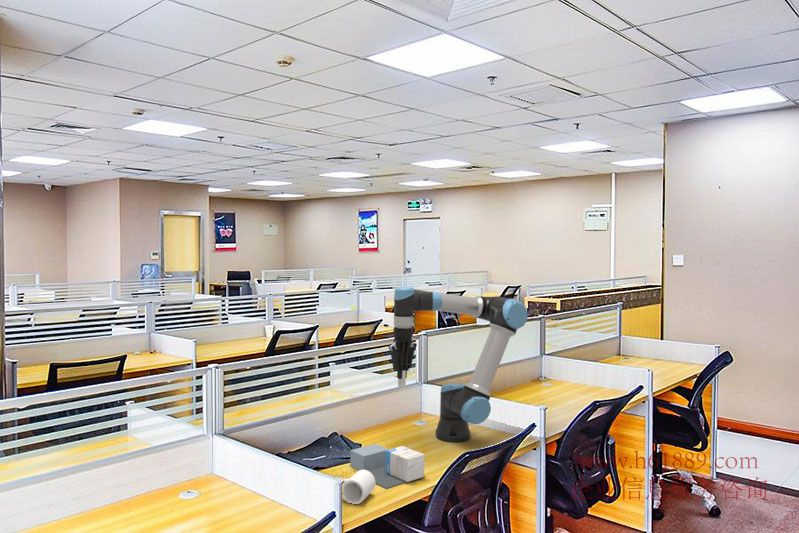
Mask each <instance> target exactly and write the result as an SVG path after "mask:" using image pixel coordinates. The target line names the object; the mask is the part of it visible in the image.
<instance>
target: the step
mask: <svg viewBox="0 0 799 533" xmlns="http://www.w3.org/2000/svg"><path fill="white" fill-rule="evenodd" d="M387 450H390V448H387V447H385V446H382V445H379V444H377V443H374V444H370V445H366V446H365V445H364V446H362V447H358V448H354V449H351V450H350V455H349V456H350V458H349V462H350V464H349V467H351V468H353V469H355V470H357V471H359V470H367V471H369V470H372V469H376V468H379V467H383V466H385V463H386V451H387Z"/></svg>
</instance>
